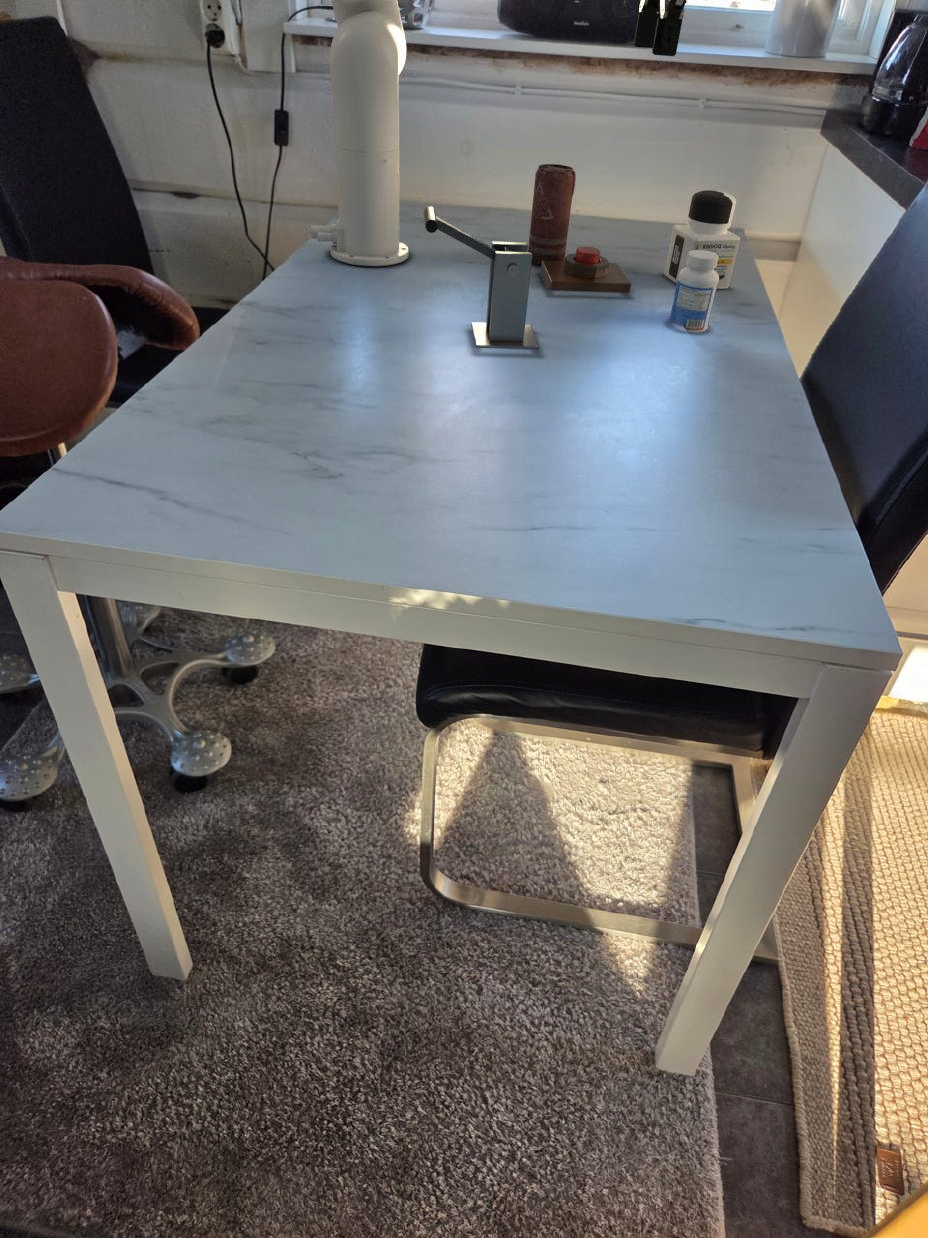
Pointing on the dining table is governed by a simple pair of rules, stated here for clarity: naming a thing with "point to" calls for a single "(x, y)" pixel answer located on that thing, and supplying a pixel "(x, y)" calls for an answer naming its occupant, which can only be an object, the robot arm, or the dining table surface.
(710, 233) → the container
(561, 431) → the dining table surface
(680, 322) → the pill bottle
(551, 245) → the can
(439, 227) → the tap lever
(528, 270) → the grey lever stand
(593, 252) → the button
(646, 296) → the dining table surface
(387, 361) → the dining table surface
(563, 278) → the button block
